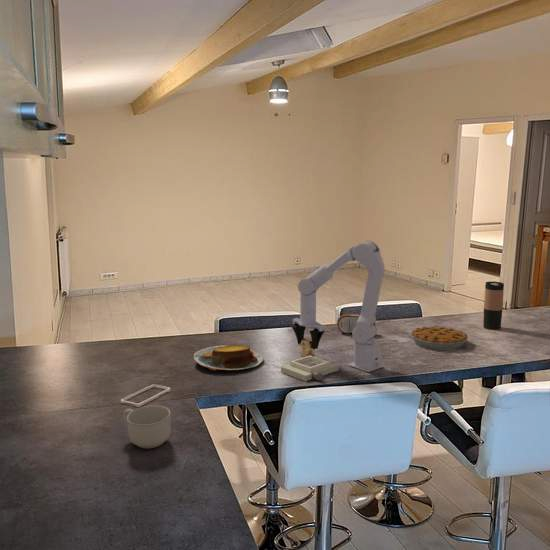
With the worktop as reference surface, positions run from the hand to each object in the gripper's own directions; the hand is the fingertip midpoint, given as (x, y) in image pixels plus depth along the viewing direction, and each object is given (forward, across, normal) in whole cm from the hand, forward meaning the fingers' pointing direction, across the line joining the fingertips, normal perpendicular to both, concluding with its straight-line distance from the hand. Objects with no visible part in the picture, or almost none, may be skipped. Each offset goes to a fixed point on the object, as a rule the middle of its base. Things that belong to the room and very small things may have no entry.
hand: (307, 346), depth 211 cm
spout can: (+4, 0, 0) cm, 4 cm away
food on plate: (+5, -16, -25) cm, 30 cm away
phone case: (+5, -7, -63) cm, 64 cm away
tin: (+5, -10, +38) cm, 40 cm away
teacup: (+5, +20, -78) cm, 81 cm away
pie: (+5, +22, +52) cm, 57 cm away
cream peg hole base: (+4, +13, -10) cm, 17 cm away
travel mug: (+4, +25, +89) cm, 93 cm away
